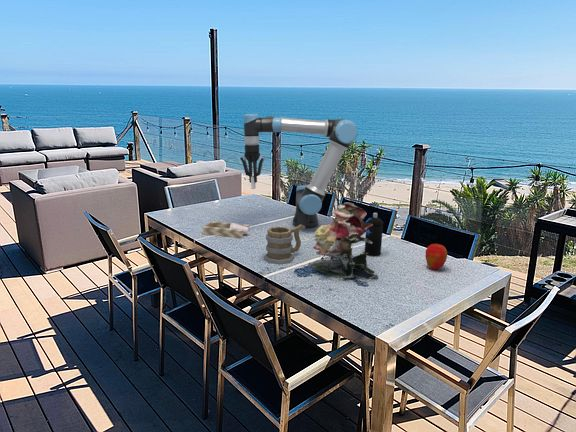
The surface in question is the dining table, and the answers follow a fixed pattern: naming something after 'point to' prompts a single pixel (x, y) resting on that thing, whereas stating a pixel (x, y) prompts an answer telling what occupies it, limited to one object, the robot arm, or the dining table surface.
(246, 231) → the smoothie
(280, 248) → the tankard
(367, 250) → the aerosol can
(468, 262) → the dining table surface
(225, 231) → the braided bread loaf
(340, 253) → the rose bouquet
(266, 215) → the dining table surface
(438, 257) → the apple
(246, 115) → the robot arm
